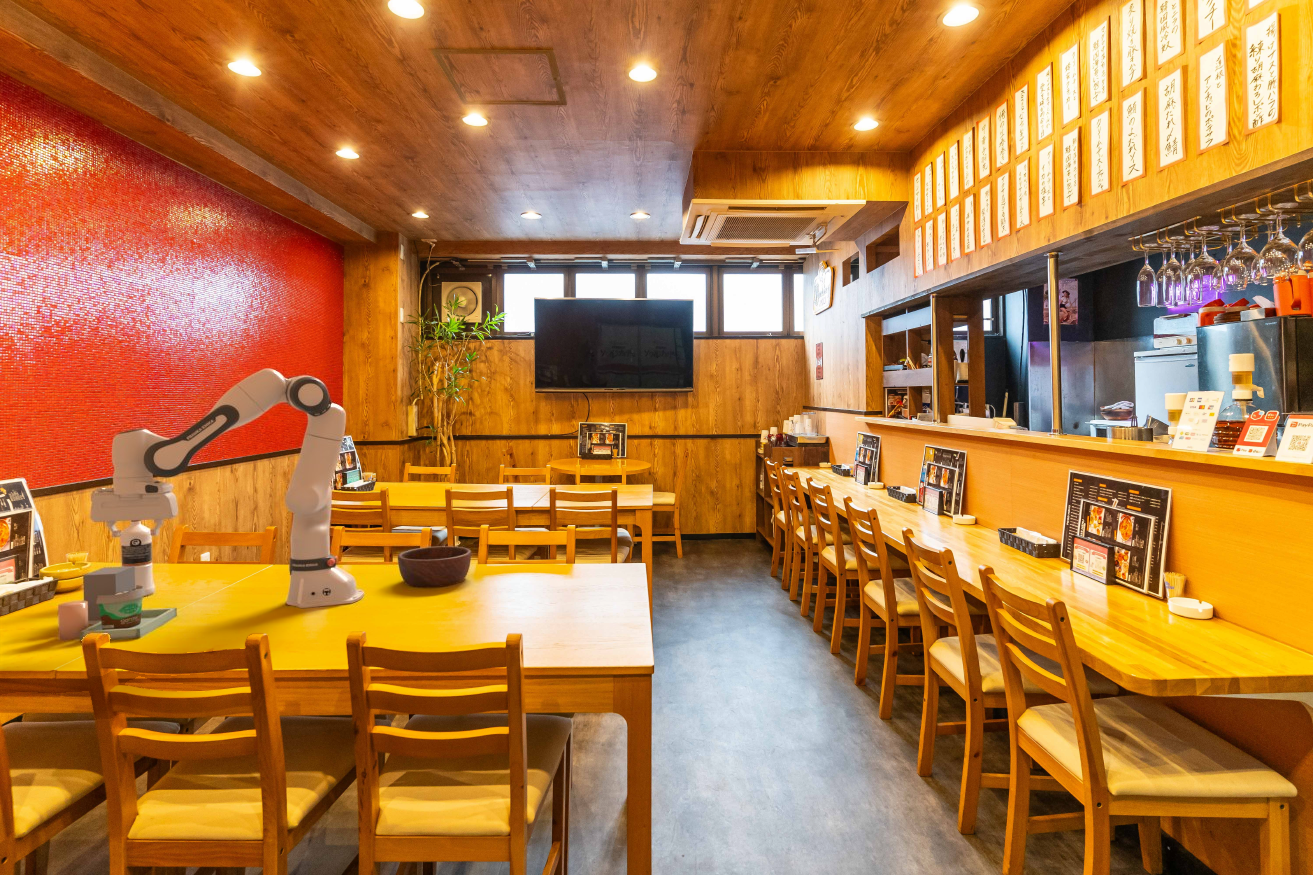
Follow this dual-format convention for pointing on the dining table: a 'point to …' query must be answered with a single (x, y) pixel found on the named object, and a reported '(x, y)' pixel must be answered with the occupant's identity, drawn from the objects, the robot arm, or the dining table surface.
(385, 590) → the dining table surface
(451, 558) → the wooden bowl
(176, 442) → the robot arm
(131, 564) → the vodka
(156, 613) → the tray
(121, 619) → the food container
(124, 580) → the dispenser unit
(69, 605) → the canister
